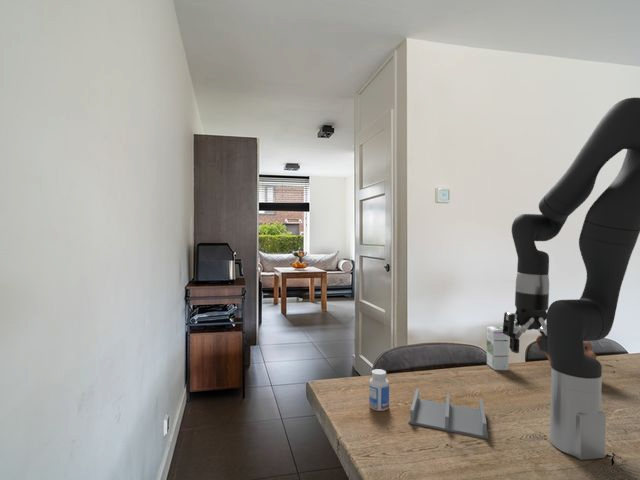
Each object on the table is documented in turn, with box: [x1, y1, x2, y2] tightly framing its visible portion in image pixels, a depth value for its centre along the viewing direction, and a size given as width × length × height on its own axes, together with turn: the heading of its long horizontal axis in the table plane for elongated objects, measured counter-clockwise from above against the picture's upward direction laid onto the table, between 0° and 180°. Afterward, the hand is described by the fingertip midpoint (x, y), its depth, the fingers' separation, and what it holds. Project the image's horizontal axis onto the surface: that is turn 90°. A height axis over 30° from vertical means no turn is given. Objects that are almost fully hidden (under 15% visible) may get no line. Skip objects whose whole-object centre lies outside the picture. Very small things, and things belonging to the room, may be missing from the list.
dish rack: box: [408, 388, 489, 440], centre depth 92 cm, size 14×18×4 cm
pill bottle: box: [368, 368, 390, 412], centre depth 97 cm, size 6×5×10 cm
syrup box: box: [486, 325, 510, 371], centre depth 129 cm, size 6×6×14 cm
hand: (529, 351), depth 93 cm, fingers open, 8 cm apart
